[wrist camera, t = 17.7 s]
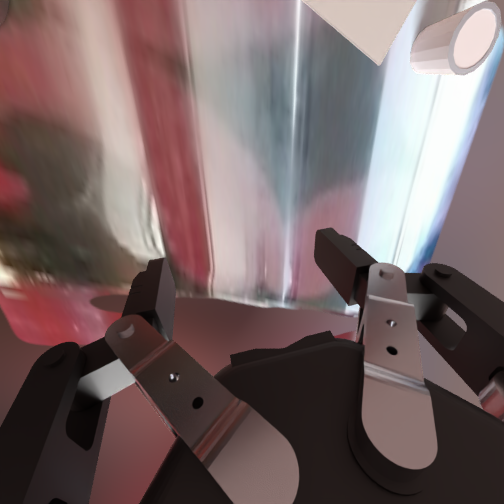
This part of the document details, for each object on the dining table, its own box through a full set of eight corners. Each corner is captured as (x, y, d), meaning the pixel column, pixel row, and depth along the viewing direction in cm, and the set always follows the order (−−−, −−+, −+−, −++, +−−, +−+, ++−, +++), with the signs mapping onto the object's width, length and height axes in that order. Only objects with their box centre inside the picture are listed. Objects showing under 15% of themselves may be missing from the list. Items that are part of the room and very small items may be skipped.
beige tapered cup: (437, 3, 32) (491, -18, 26) (457, 44, 35) (509, 33, 29) (397, 55, 34) (439, 47, 28) (419, 90, 37) (461, 88, 31)
